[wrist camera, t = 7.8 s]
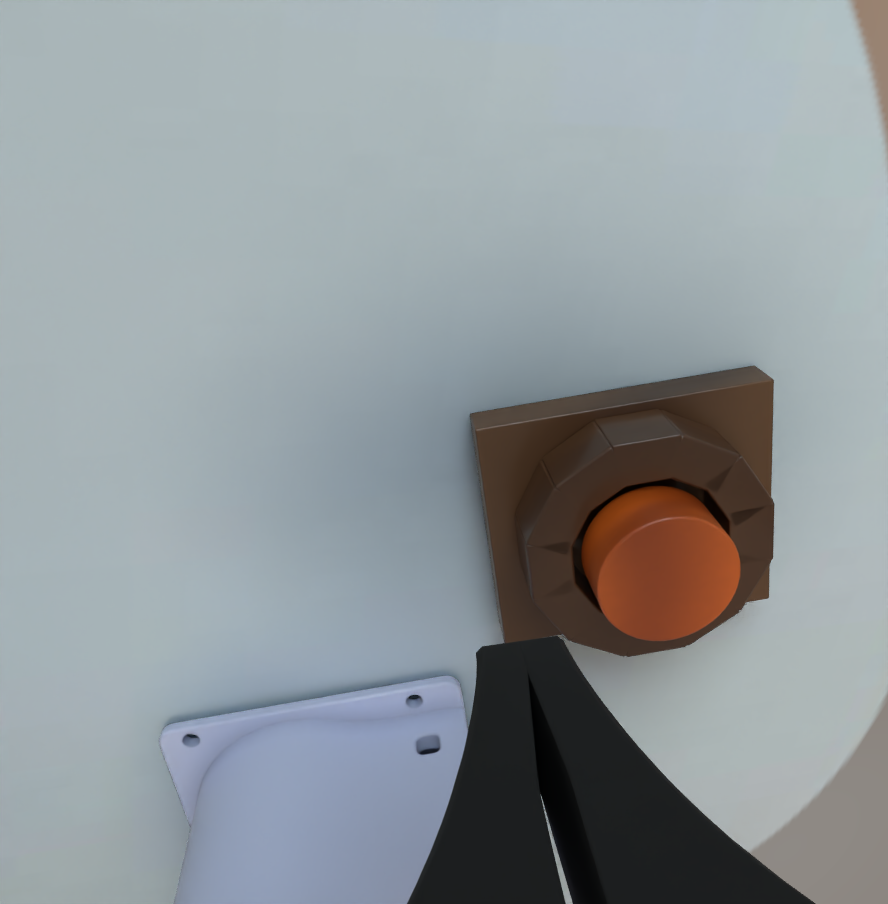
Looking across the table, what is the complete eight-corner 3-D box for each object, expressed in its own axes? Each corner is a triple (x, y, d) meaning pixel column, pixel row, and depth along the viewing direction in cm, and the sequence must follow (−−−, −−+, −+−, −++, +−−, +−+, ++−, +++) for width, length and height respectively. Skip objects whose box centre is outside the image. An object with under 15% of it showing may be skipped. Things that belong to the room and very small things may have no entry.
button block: (754, 364, 23) (807, 403, 20) (752, 576, 26) (798, 635, 23) (469, 412, 23) (484, 458, 20) (499, 621, 26) (515, 685, 23)
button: (714, 473, 21) (741, 505, 20) (714, 590, 23) (741, 629, 21) (575, 497, 21) (592, 531, 20) (585, 613, 23) (602, 653, 21)
